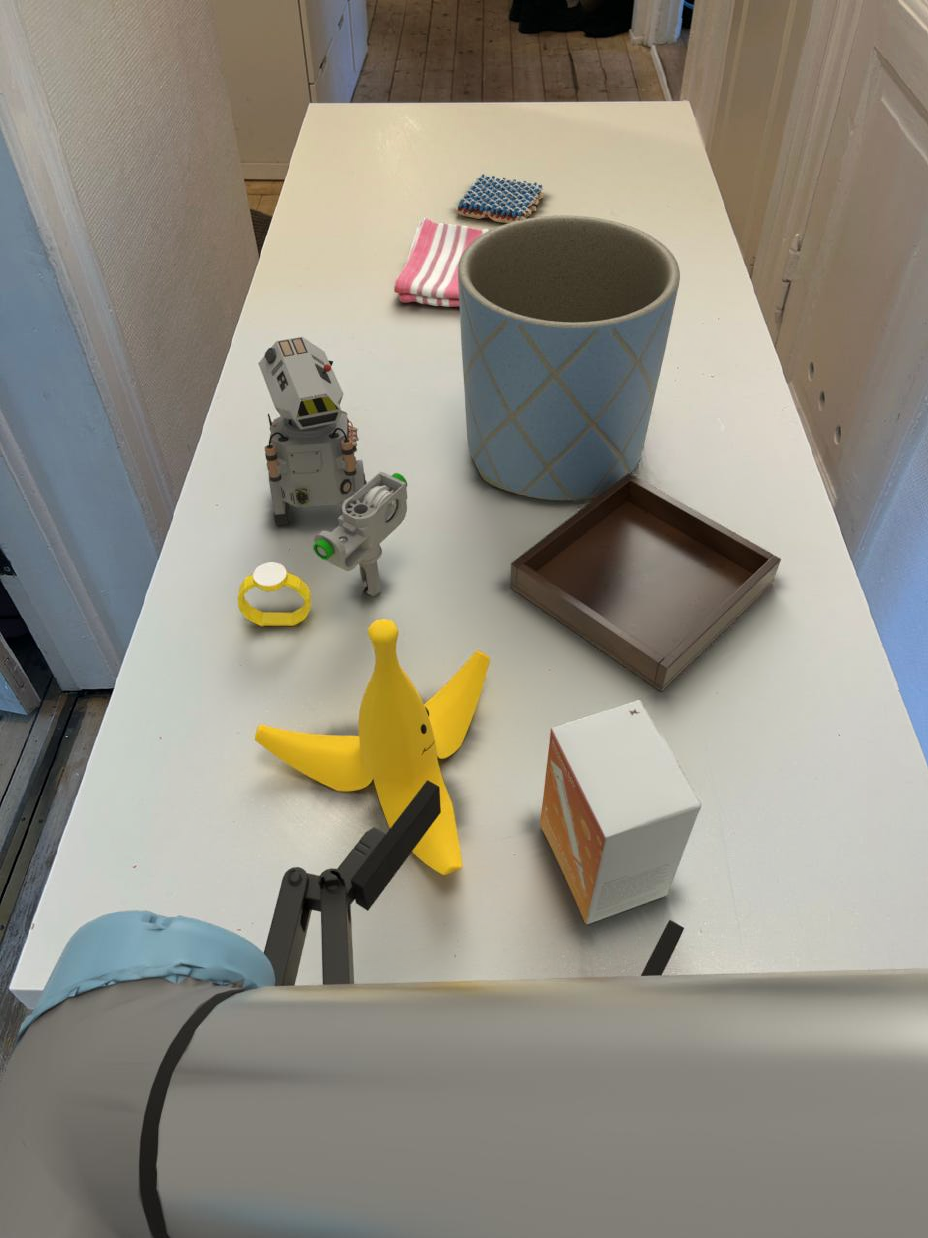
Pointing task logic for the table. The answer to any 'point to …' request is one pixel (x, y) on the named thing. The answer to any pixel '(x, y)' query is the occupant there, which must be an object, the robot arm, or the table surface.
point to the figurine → (307, 430)
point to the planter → (562, 351)
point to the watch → (271, 580)
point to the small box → (616, 810)
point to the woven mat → (500, 200)
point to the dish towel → (434, 264)
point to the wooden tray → (644, 578)
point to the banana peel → (394, 743)
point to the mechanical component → (365, 528)
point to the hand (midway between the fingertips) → (547, 861)
